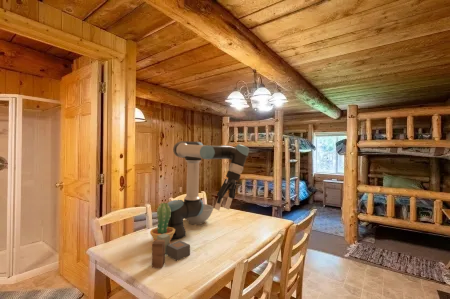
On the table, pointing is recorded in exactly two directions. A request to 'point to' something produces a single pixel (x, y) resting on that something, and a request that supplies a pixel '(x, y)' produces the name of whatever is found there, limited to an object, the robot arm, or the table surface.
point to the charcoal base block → (178, 250)
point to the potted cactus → (163, 222)
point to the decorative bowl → (201, 216)
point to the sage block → (167, 240)
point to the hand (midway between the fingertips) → (221, 209)
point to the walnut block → (158, 253)
